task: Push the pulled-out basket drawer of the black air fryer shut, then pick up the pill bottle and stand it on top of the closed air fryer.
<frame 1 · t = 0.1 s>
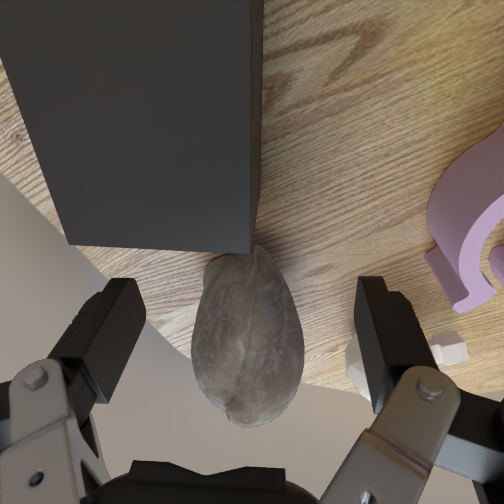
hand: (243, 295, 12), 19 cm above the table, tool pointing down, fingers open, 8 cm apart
decorative stone: (252, 281, 37), on the table
air fryer: (180, 97, 26), on the table
perfume bottle: (392, 332, 39), on the table
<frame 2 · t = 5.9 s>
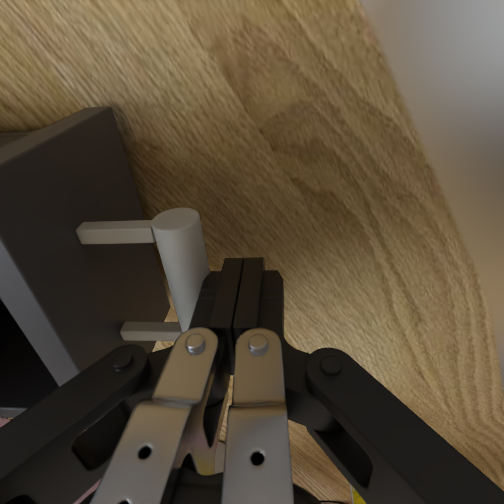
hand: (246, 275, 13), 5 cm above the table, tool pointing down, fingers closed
coffee cup: (209, 452, 33), on the table
air fryer basket: (3, 273, 15), point 5 cm above the table, slide at 5.4 cm, touching gripper
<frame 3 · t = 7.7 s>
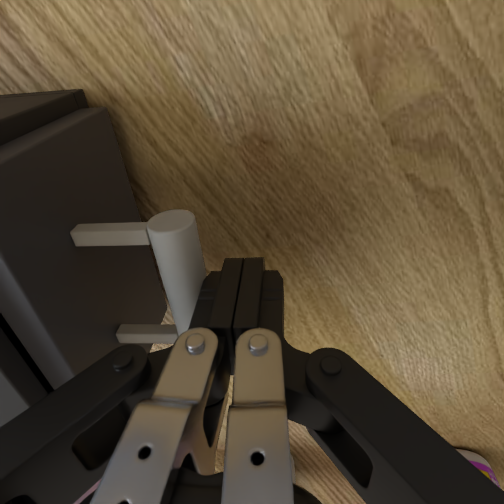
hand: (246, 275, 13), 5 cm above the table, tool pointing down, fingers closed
supplement bottle: (445, 461, 30), on the table
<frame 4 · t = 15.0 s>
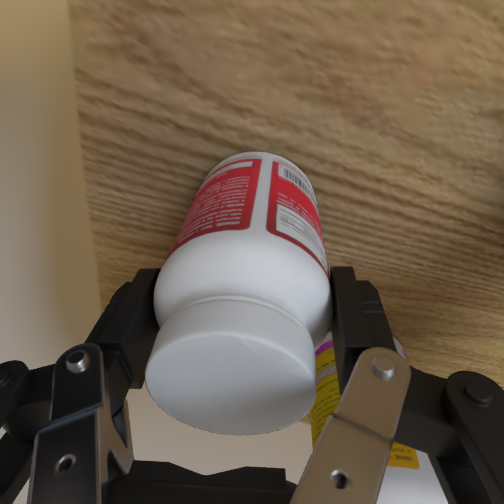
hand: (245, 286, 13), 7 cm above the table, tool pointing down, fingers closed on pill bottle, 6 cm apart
supplement bottle: (353, 351, 24), on the table
pill bottle: (258, 203, 18), on the table, touching gripper
when the fingers open (16 cm above the table, at t = 23.1 s): pill bottle stays where it is, resting on air fryer.
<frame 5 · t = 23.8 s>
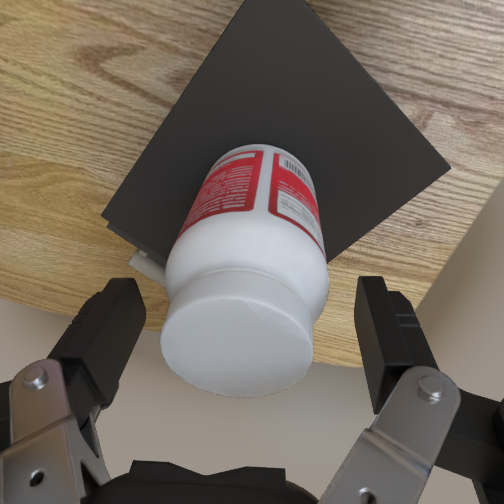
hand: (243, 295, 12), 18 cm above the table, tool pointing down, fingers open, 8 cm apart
air fryer: (268, 141, 27), on the table
air fryer basket: (228, 202, 25), point 5 cm above the table, slide at 0.1 cm
pill bottle: (259, 193, 19), point 9 cm above the table, touching air fryer
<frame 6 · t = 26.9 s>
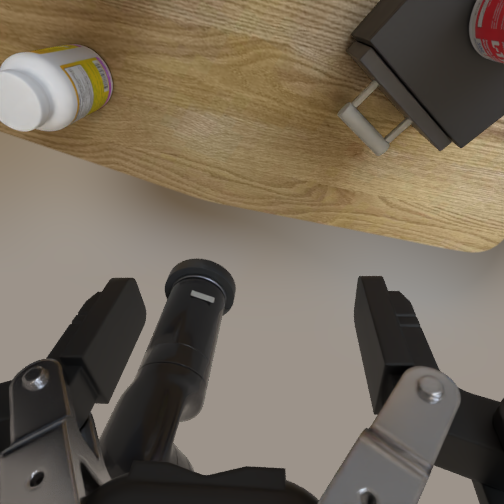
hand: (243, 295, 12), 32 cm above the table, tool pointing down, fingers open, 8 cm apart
air fryer: (459, 11, 33), on the table
air fryer basket: (439, 53, 31), point 5 cm above the table, slide at 0.1 cm
supplement bottle: (87, 77, 39), on the table
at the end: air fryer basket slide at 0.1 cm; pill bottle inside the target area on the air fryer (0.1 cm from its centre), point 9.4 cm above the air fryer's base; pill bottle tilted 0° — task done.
